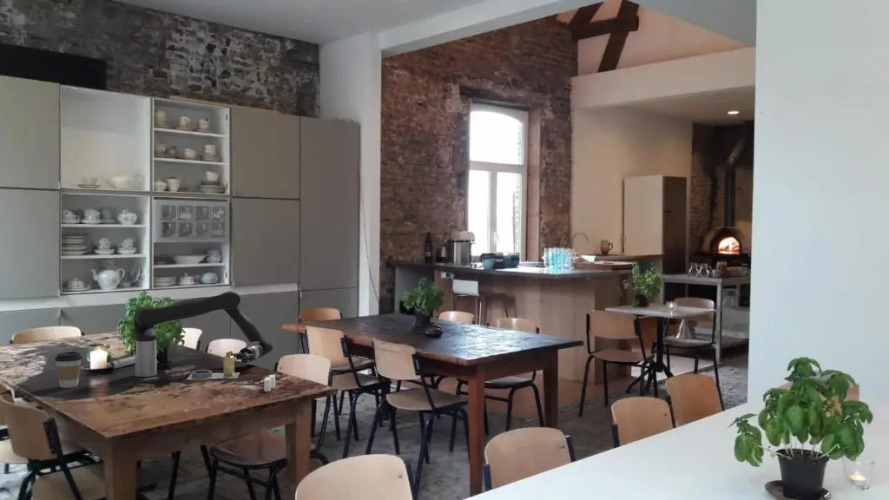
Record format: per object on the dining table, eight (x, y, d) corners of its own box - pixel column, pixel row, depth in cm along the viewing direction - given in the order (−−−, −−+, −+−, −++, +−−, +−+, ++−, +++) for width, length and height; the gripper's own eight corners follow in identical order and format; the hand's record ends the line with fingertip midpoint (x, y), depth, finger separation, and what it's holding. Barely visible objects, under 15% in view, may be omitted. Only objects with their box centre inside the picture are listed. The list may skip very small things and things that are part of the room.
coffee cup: (88, 384, 333) (88, 352, 333) (68, 390, 323) (68, 356, 322) (69, 382, 337) (69, 350, 336) (48, 387, 326) (48, 354, 326)
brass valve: (223, 376, 345) (222, 353, 345) (224, 374, 350) (224, 351, 350) (233, 376, 346) (233, 352, 346) (235, 374, 351) (234, 350, 351)
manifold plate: (186, 382, 339) (186, 375, 339) (191, 376, 352) (191, 369, 351) (237, 381, 343) (237, 373, 343) (240, 375, 356) (240, 368, 355)
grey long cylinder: (108, 361, 370) (151, 347, 391) (110, 373, 371) (153, 359, 392) (114, 362, 368) (157, 348, 388) (116, 375, 369) (159, 360, 389)
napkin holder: (268, 393, 320) (268, 381, 319) (249, 390, 325) (249, 378, 325) (292, 387, 332) (292, 375, 332) (274, 384, 338) (274, 372, 338)
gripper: (236, 345, 371) (221, 351, 355) (262, 347, 369) (248, 352, 353) (236, 360, 372) (221, 366, 356) (262, 361, 369) (248, 367, 353)
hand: (234, 359), depth 354 cm, fingers open, 8 cm apart
